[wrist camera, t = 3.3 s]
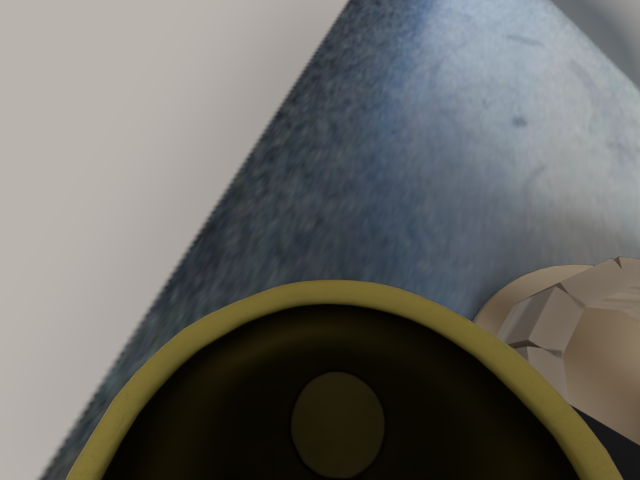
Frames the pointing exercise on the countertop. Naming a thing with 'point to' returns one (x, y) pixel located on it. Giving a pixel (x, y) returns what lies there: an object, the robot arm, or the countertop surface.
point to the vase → (340, 398)
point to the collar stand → (578, 335)
